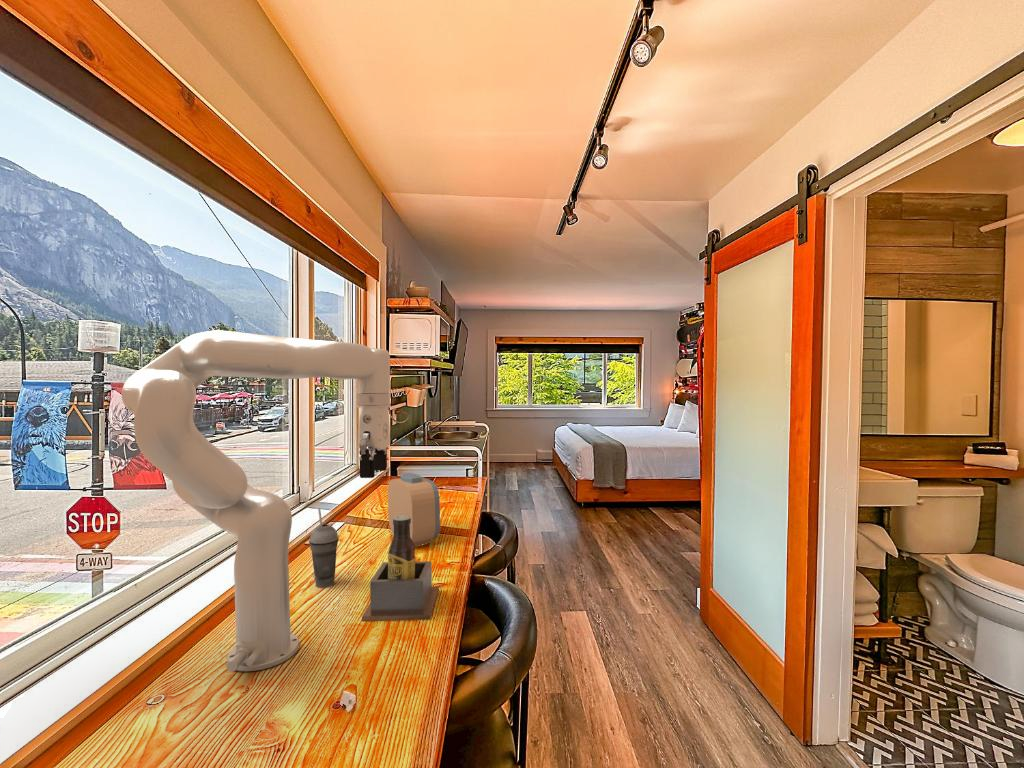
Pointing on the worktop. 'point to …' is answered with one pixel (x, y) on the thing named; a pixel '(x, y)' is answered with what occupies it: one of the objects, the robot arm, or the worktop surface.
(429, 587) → the grey square open box
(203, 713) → the worktop surface
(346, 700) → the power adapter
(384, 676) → the worktop surface
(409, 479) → the alarm clock
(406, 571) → the sauce bottle
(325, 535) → the beverage cup
